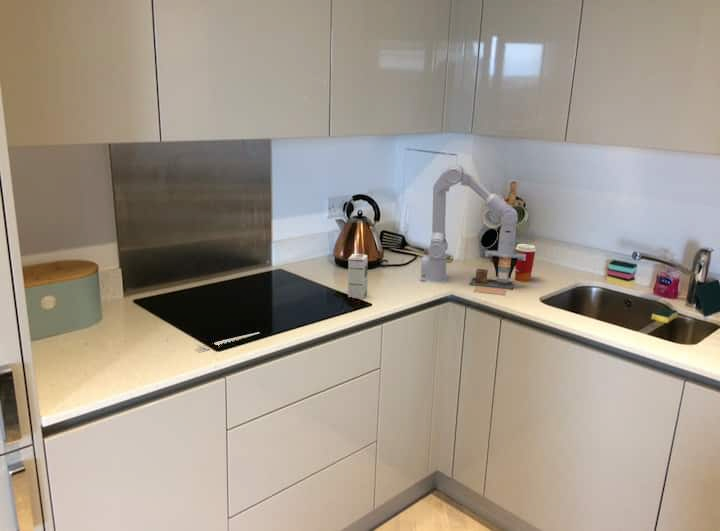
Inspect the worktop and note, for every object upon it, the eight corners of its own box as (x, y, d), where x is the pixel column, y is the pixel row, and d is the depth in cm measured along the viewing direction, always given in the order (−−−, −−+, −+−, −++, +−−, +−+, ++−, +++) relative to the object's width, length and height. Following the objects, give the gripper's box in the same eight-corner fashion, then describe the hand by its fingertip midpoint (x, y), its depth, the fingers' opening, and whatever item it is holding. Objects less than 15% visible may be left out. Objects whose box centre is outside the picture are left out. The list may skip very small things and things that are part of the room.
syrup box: (364, 299, 204) (365, 258, 200) (347, 297, 205) (348, 257, 201) (367, 294, 210) (368, 254, 206) (350, 292, 211) (351, 253, 207)
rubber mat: (473, 292, 214) (473, 291, 214) (475, 287, 221) (475, 285, 221) (504, 296, 211) (505, 294, 211) (505, 290, 218) (505, 289, 218)
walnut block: (474, 284, 223) (476, 271, 222) (475, 281, 227) (477, 268, 225) (485, 285, 222) (486, 272, 221) (486, 282, 226) (487, 269, 224)
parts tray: (469, 286, 222) (469, 282, 222) (471, 280, 229) (471, 277, 229) (512, 290, 218) (512, 287, 218) (513, 284, 225) (513, 281, 225)
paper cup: (516, 276, 236) (519, 242, 232) (535, 280, 231) (539, 245, 228) (509, 281, 229) (512, 246, 225) (528, 285, 225) (532, 249, 221)
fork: (263, 336, 172) (263, 330, 172) (200, 353, 159) (200, 347, 159) (256, 333, 175) (256, 327, 174) (194, 350, 161) (194, 343, 161)
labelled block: (496, 281, 220) (498, 268, 219) (497, 278, 224) (498, 265, 223) (507, 282, 219) (509, 269, 218) (508, 279, 223) (509, 266, 222)
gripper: (485, 241, 216) (482, 277, 220) (527, 245, 212) (522, 282, 216) (487, 237, 222) (484, 272, 226) (527, 241, 219) (523, 276, 222)
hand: (503, 276), depth 221 cm, fingers closed on labelled block, 4 cm apart
